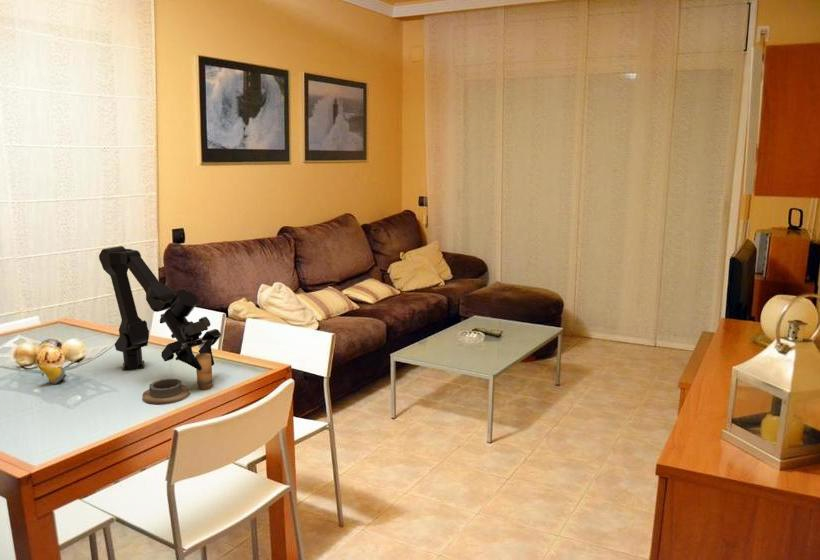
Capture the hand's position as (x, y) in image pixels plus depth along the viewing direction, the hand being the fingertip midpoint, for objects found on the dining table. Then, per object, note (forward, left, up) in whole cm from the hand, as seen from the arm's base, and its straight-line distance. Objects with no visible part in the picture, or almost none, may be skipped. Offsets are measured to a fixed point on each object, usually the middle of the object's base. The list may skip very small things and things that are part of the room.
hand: (207, 367), depth 201 cm
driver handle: (-1, -1, -7) cm, 7 cm away
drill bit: (-20, -44, -7) cm, 49 cm away
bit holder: (+2, -12, -7) cm, 14 cm away
